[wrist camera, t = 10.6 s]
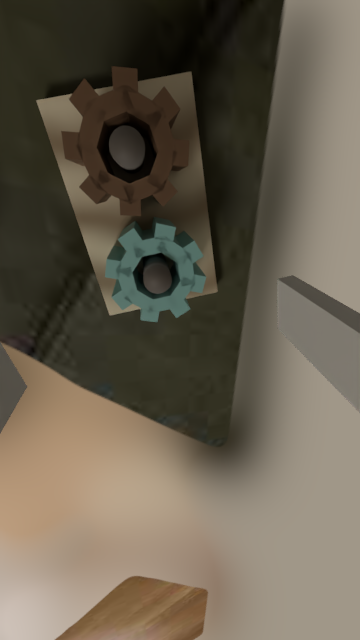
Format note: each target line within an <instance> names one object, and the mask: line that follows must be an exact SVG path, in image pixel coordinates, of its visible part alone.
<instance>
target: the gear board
mask: <svg viewBox="0 0 360 640" xmlns="http://www.w3.org/2000/svg"><path fill="white" fill-rule="evenodd" d="M164 86H165V88H166V89H167V91H168V92H169V93H170V95H171V96H172V98H173V99H174V100H175V102H176V103H177V105H178V106H179V107H180V111H179V113H178V115H177V118H176V120H175V122H174V124H173V126H172V128H171V133H172V136H173V139H180V140H189V162H188V166H187V167H185V168H183V169H182V170H180V171H170V174H169V176H168V180H169V181H170V183H171V184H172V185H173V186H174V187H175V189H176V190H177V191H178V192H177V193H176V194H175V195H174V196H173V197H172V198H171V199H170V200H169V201H168V202H167V203H166V204H165V205H164V206H161V205H160V204H159V203H158V202H157V201H156V200H155V199H154V197H153V196H152V195H151V196H149V197H146V198H144V199H141V216H125V215H120V201H119V199H118V198H116V197H114V196H112V195H111V197H110V198H109V199H108V200H107V201H106V202H103V203H99V204H95V203H94V202H93V201H92V200H91V199H90V198H89V197H88V196H87V195H86V194H85V193H84V192H83V191H82V190H81V189H80V188H79V186H80V185H81V184H82V183H83V182H84V180H85V179H86V178H87V177H88V176H89V174H88V171H87V169H86V167H85V166H81V165H79V164H76V163H74V162H72V161H69V160H67V159H65V156H64V148H63V141H62V133H61V131H68V132H79V131H80V127H81V123H82V119H83V117H82V115H81V114H80V113H79V112H78V110H77V109H76V108H75V107H74V105H73V104H72V103H71V102H70V100H69V98H70V97H71V95H72V94H68V95H63V96H57V97H52V98H47V99H41V100H36V101H37V104H38V107H39V110H40V113H41V116H42V119H43V121H44V124H45V127H46V130H47V133H48V136H49V139H50V142H51V145H52V148H53V151H54V154H55V157H56V159H57V162H58V165H59V168H60V171H61V174H62V177H63V180H64V183H65V186H66V189H67V192H68V195H69V198H70V200H71V203H72V206H73V209H74V212H75V215H76V218H77V221H78V224H79V227H80V230H81V233H82V236H83V238H84V241H85V244H86V247H87V250H88V253H89V256H90V259H91V262H92V265H93V268H94V271H95V274H96V276H97V279H98V282H99V285H100V288H101V291H102V294H103V297H104V300H105V303H106V306H107V309H108V312H109V314H110V315H114V314H119V313H123V312H128V311H133V310H137V309H141V308H140V307H138V306H136V305H134V304H132V305H130V306H129V307H127V308H126V309H124V310H122V309H121V308H120V307H119V306H118V304H117V303H116V302H115V301H114V300H113V299H112V293H113V290H114V286H115V283H116V279H113V278H106V277H105V270H106V260H107V257H108V255H109V253H110V251H111V250H112V248H113V246H119V247H123V246H122V244H121V243H120V242H119V240H118V238H119V236H120V234H121V232H122V230H123V229H124V228H126V227H127V226H128V225H130V224H131V223H132V222H134V221H136V222H137V223H138V225H139V226H140V228H141V229H142V230H147V229H151V228H152V224H153V218H154V217H158V218H162V219H167V220H170V221H171V223H172V224H173V225H174V226H175V227H176V230H175V235H174V237H176V236H177V235H179V234H180V233H182V232H183V231H185V232H186V233H187V234H188V235H189V236H190V237H191V238H192V239H193V240H194V241H195V243H196V244H197V246H198V248H199V249H200V251H201V253H202V254H203V257H202V258H200V259H199V260H197V261H196V263H197V265H198V266H199V267H200V269H201V270H202V271H203V273H204V274H205V275H206V280H205V284H204V288H203V292H202V293H198V292H192V291H190V292H189V293H188V295H187V296H186V299H188V298H192V297H197V296H201V295H206V294H210V293H215V292H217V283H216V275H215V266H214V258H213V250H212V241H211V233H210V224H209V216H208V207H207V199H206V191H205V182H204V174H203V165H202V157H201V149H200V140H199V132H198V123H197V115H196V106H195V98H194V90H193V81H192V73H191V72H185V73H180V74H175V75H169V76H164V77H159V78H153V79H148V80H143V81H138V92H139V93H140V94H142V95H144V96H145V97H147V98H149V99H150V100H153V99H154V98H155V96H156V95H157V94H158V93H159V92H160V91H161V89H162V88H163V87H164ZM111 90H113V86H111V87H105V88H100V89H95V92H96V93H97V94H98V95H99V96H100V95H102V94H104V93H107V92H109V91H111ZM107 159H108V161H109V163H110V166H111V168H112V170H113V173H114V175H115V177H117V178H119V179H121V180H123V181H125V182H127V183H129V184H130V183H132V182H134V181H137V180H139V179H142V178H144V177H146V176H149V175H150V172H151V169H152V167H153V164H154V161H155V159H154V156H153V153H152V151H151V148H150V145H149V142H148V140H147V139H146V138H144V137H142V136H141V134H140V133H139V132H138V131H137V130H136V129H135V128H133V127H131V126H120V127H118V128H116V129H115V130H114V131H113V132H112V134H111V136H110V140H109V152H108V155H107ZM172 266H173V260H172V259H170V258H169V257H167V256H166V255H164V254H163V253H157V254H152V255H148V256H143V257H142V258H141V259H140V261H139V263H138V264H137V270H138V272H139V273H141V274H142V275H143V280H144V285H145V287H146V288H147V290H149V291H150V292H152V293H155V294H160V293H163V292H165V291H167V290H168V289H169V288H170V286H171V283H172V277H171V274H170V271H169V270H170V269H171V267H172Z"/></svg>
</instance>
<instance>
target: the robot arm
mask: <svg viewBox="0 0 360 640" xmlns="http://www.w3.org/2000/svg"><path fill="white" fill-rule="evenodd" d="M277 292H278V294H277V295H278V296H277V302H278V329H279V331H280V332H281V333H282V334H283V335H284V336H285V337H286V338H287V339H288V340H289V341H290V342H291V343H292V344H293V345H294V346H295V347H296V348H297V349H298V350H299V351H300V352H301V353H302V354H303V355H304V356H305V357H306V358H307V359H308V360H309V361H310V362H311V363H312V364H313V365H314V366H315V367H316V368H317V369H318V370H319V372H320V373H321V374H322V375H323V376H324V377H325V378H326V379H327V380H328V381H329V382H330V383H331V384H332V385H333V386H334V387H335V388H336V389H337V390H338V391H339V392H340V393H341V394H342V395H343V396H344V397H345V398H346V399H347V400H348V401H349V402H350V403H351V404H352V405H353V406H354V407H355V408H356V409H357V411H359V413H360V314H359V313H358V312H356V311H354V310H353V309H351V308H349V307H347V306H346V305H344V304H342V303H340V302H339V301H337V300H335V299H333V298H331V297H330V296H328V295H326V294H325V293H323V292H321V291H319V290H317V289H316V288H314V287H312V286H311V285H309V284H307V283H305V282H304V281H302V280H300V279H298V278H297V277H295V276H288V277H284V278H279V279H277ZM26 388H27V385H26V384H25V382H24V381H23V379H22V377H21V376H20V374H19V372H18V371H17V369H16V367H15V366H14V364H13V363H12V361H11V359H10V358H9V356H8V354H7V353H6V351H5V349H4V348H3V346H2V344H1V343H0V433H1V431H2V429H3V427H4V426H5V424H6V422H7V421H8V419H9V417H10V415H11V414H12V412H13V410H14V408H15V407H16V405H17V403H18V402H19V400H20V398H21V396H22V394H23V393H24V391H25V389H26Z"/></svg>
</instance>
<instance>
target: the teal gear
mask: <svg viewBox="0 0 360 640" xmlns="http://www.w3.org/2000/svg"><path fill="white" fill-rule="evenodd" d="M175 230H176V227H175V226H174V225H173V224H172V223H171V221H170V220H167V219H162V218H158V217H154V218H153V224H152V228H151V229H147V230H142V229H141V228H140V226H139V225H138V223H137V222H136V221H134V222H132V223H131V224H130V225H128V226H127V227H126V228H124V229H123V230H122V232H121V234H120V236H119V238H118V240H119V242H120V243H121V244H122V246H123V247H119V246H113V248H112V250H111V251H110V253H109V255H108V257H107V260H106V270H105V277H106V278H113V279H116V283H115V286H114V290H113V293H112V299H113V300H114V301H115V302H116V303H117V304H118V306H119V307H120V308H121V309H122V310H124V309H126V308H127V307H129V306H130V305H132V304H134V305H136V306H138V307H140V308H141V320H145V321H152V322H157V321H158V316H159V311H163V310H168V309H170V310H171V311H172V313H173V314H174V315H175V317H176V318H177V317H179V316H180V315H182V314H183V313H185V312H186V311H188V310H190V307H189V304H188V302H187V299H186V296H187V295H188V293H189V292H190V291H192V292H198V293H202V292H203V288H204V284H205V280H206V275H205V274H204V273H203V271H202V270H201V269H200V267H199V266H198V265H197V263H196V261H197V260H199V259H200V258H202V257H203V254H202V253H201V251H200V249H199V248H198V246H197V244H196V243H195V241H194V240H193V239H192V238H191V237H190V236H189V235H188V234H187V233H186V232H185V231H183V232H182V233H180V234H179V235H177V236H176V237H174V235H175ZM157 253H163V254H164V255H166V256H167V257H169V258H170V259H172V260H173V266H172V267H171V269H170V270H169V271H170V274H171V277H172V283H171V286H170V288H169V289H168V290H167V291H165V292H163V293H160V294H155V293H152V292H150V291H149V290H147V288H146V287H145V285H144V280H143V275H142V274H141V273H139V272H138V270H137V264H138V263H139V261H140V259H141V258H142V257H143V256H148V255H152V254H157Z"/></svg>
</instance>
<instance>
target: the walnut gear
mask: <svg viewBox="0 0 360 640" xmlns="http://www.w3.org/2000/svg"><path fill="white" fill-rule="evenodd" d="M112 80H113V90H111V91H109V92H107V93H104V94H102V95H100V96H99V95H98V94H97V93H96V92H95V90H94V89H93V88H92V87H91V85H90V84H89V83H88V82H87V81H86V79H85V78H84V79H83V81H82V82H81V83H80V85H79V86H78V87H77V89H76V90H75V91H74V93H73V94H72V95H71V97H70V98H69V100H70V102H71V103H72V104H73V105H74V107H75V108H76V109H77V110H78V112H79V113H80V114H81V115H82V117H83V119H82V123H81V127H80V131H79V132H68V131H61V133H62V141H63V148H64V156H65V159H67V160H69V161H72V162H74V163H76V164H79V165H81V166H85V167H86V169H87V171H88V174H89V176H88V177H87V178H86V179H85V180H84V182H83V183H82V184H81V185H80V186H79V188H80V189H81V190H82V191H83V192H84V193H85V194H86V195H87V196H88V197H89V198H90V199H91V200H92V201H93V202H94V203H95V204H99V203H103V202H106V201H107V200H108V199H109V198H110V197H111V195H112V196H114V197H116V198H118V199H119V201H120V215H125V216H141V199H144V198H146V197H149V196H151V195H152V196H153V197H154V199H155V200H156V201H157V202H158V203H159V204H160V205H161V206H164V205H165V204H166V203H167V202H168V201H169V200H170V199H171V198H172V197H173V196H174V195H175V194H176V193H177V192H178V191H177V190H176V189H175V187H174V186H173V185H172V184H171V183H170V181H169V180H168V176H169V174H170V171H180V170H182V169H183V168H185V167H187V166H188V162H189V140H180V139H173V136H172V133H171V128H172V126H173V124H174V122H175V120H176V118H177V115H178V113H179V111H180V107H179V106H178V105H177V103H176V102H175V100H174V99H173V98H172V96H171V95H170V93H169V92H168V91H167V89H166V88H165V86H164V87H163V88H162V89H161V91H160V92H159V93H158V94H157V95H156V96H155V98H154V99H153V100H150V99H149V98H147V97H145V96H144V95H142V94H140V93H139V92H138V74H137V69H135V68H125V67H116V66H112ZM120 126H131V127H133V128H135V129H136V130H137V131H138V132H139V133H140V134H141V136H142V137H144V138H146V139H147V140H148V142H149V145H150V148H151V151H152V153H153V156H154V159H155V161H154V164H153V167H152V169H151V172H150V175H149V176H146V177H144V178H142V179H139V180H137V181H134V182H132V183H130V184H129V183H127V182H125V181H123V180H121V179H119V178H117V177H115V175H114V173H113V170H112V168H111V166H110V163H109V161H108V159H107V155H108V152H109V140H110V136H111V134H112V132H113V131H114V130H115V129H116V128H118V127H120Z"/></svg>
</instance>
